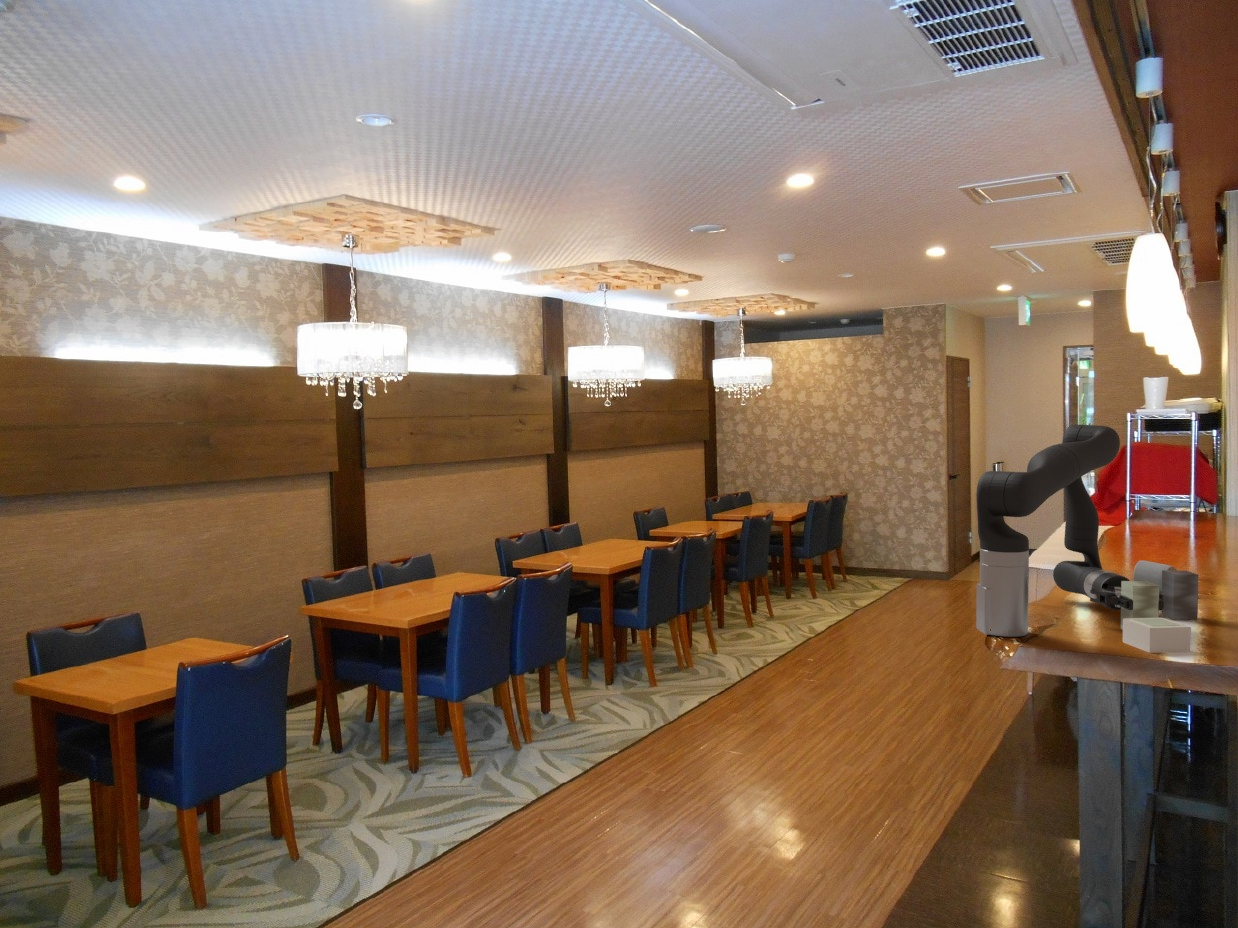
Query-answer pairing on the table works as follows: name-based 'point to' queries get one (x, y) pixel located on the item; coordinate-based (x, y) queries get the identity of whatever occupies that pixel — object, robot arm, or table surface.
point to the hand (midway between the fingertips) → (1145, 605)
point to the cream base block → (1156, 635)
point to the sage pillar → (1140, 599)
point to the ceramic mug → (1150, 572)
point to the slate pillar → (1180, 595)
